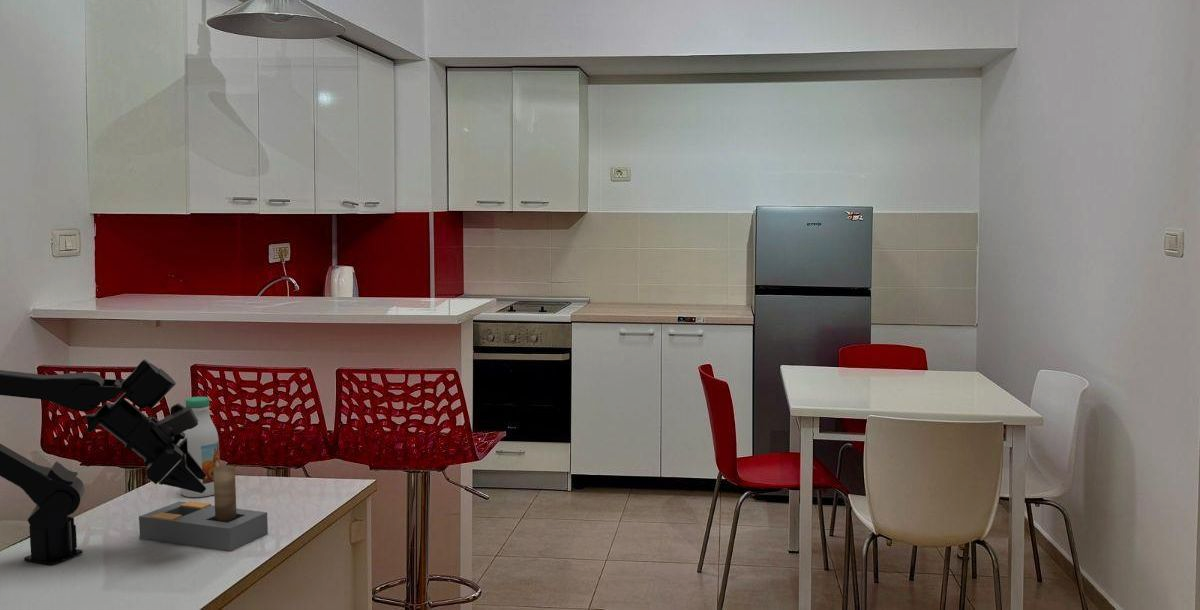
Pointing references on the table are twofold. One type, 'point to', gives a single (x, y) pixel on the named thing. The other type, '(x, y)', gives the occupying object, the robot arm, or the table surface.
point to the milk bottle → (202, 444)
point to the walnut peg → (225, 493)
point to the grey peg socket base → (202, 526)
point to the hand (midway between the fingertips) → (204, 484)
